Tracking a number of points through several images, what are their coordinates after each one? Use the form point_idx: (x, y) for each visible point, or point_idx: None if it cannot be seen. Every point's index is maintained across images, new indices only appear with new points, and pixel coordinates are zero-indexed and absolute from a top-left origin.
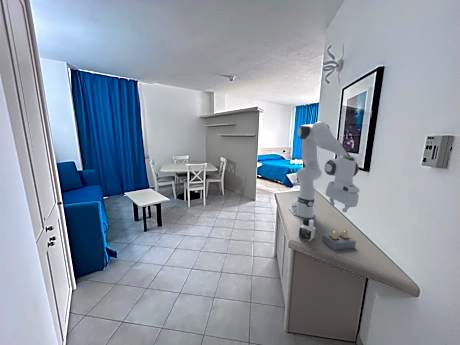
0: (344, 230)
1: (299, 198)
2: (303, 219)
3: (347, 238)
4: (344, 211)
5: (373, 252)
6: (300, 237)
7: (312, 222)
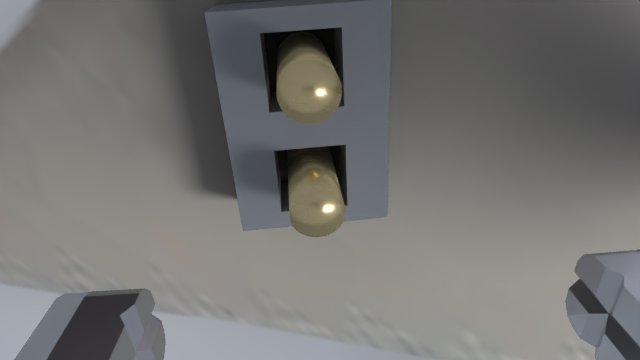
0: (332, 215)
1: None
2: None
3: None
4: (55, 315)
5: (190, 275)
6: None
7: None
